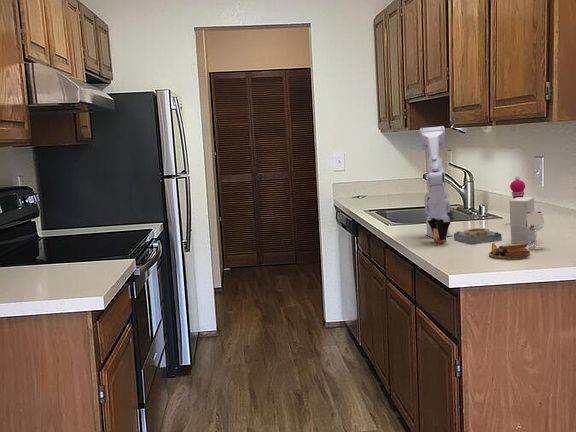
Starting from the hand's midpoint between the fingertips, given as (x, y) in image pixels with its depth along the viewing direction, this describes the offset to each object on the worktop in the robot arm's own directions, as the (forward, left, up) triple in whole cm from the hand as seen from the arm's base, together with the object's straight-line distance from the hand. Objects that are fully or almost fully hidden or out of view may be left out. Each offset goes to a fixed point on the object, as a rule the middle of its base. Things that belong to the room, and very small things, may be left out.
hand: (440, 239), depth 226 cm
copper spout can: (0, 0, -1) cm, 1 cm away
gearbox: (+3, +13, -1) cm, 13 cm away
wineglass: (+31, +20, -2) cm, 37 cm away
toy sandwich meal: (+37, +7, -2) cm, 38 cm away
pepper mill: (-20, +45, -2) cm, 49 cm away
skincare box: (+19, +23, -2) cm, 30 cm away
